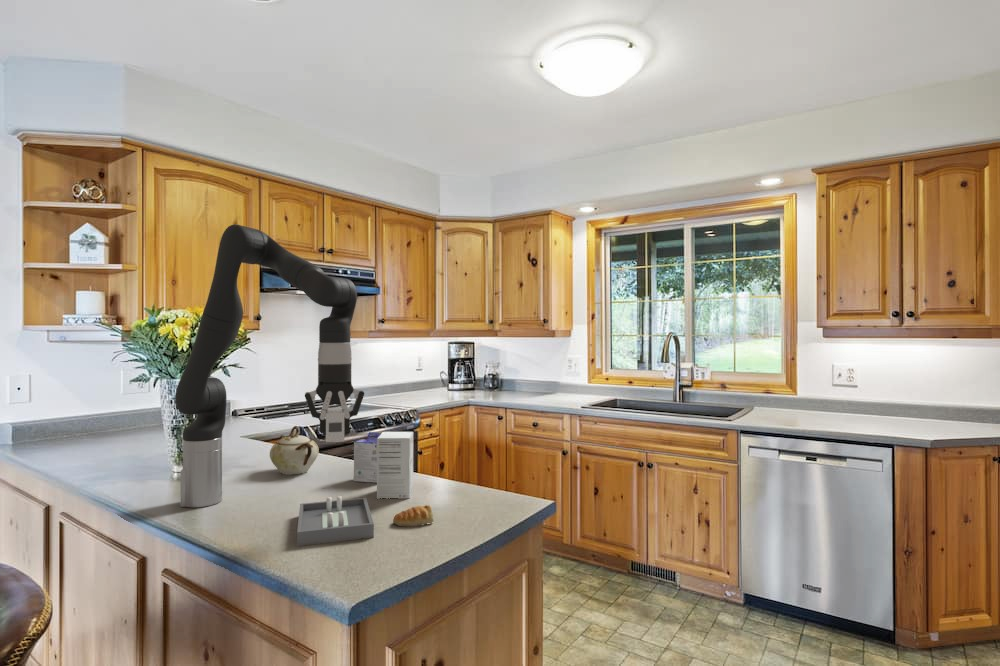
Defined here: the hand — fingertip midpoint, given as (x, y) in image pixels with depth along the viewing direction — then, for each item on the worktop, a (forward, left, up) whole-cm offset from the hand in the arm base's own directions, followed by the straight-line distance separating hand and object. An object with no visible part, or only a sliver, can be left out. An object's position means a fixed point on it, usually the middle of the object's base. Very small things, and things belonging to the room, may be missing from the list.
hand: (334, 434), depth 128 cm
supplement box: (+17, +21, -22) cm, 35 cm away
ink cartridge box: (+12, +37, -22) cm, 45 cm away
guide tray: (0, 0, -22) cm, 22 cm away
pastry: (+19, -3, -22) cm, 29 cm away
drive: (0, 0, -1) cm, 1 cm away
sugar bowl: (-11, +55, -22) cm, 60 cm away
